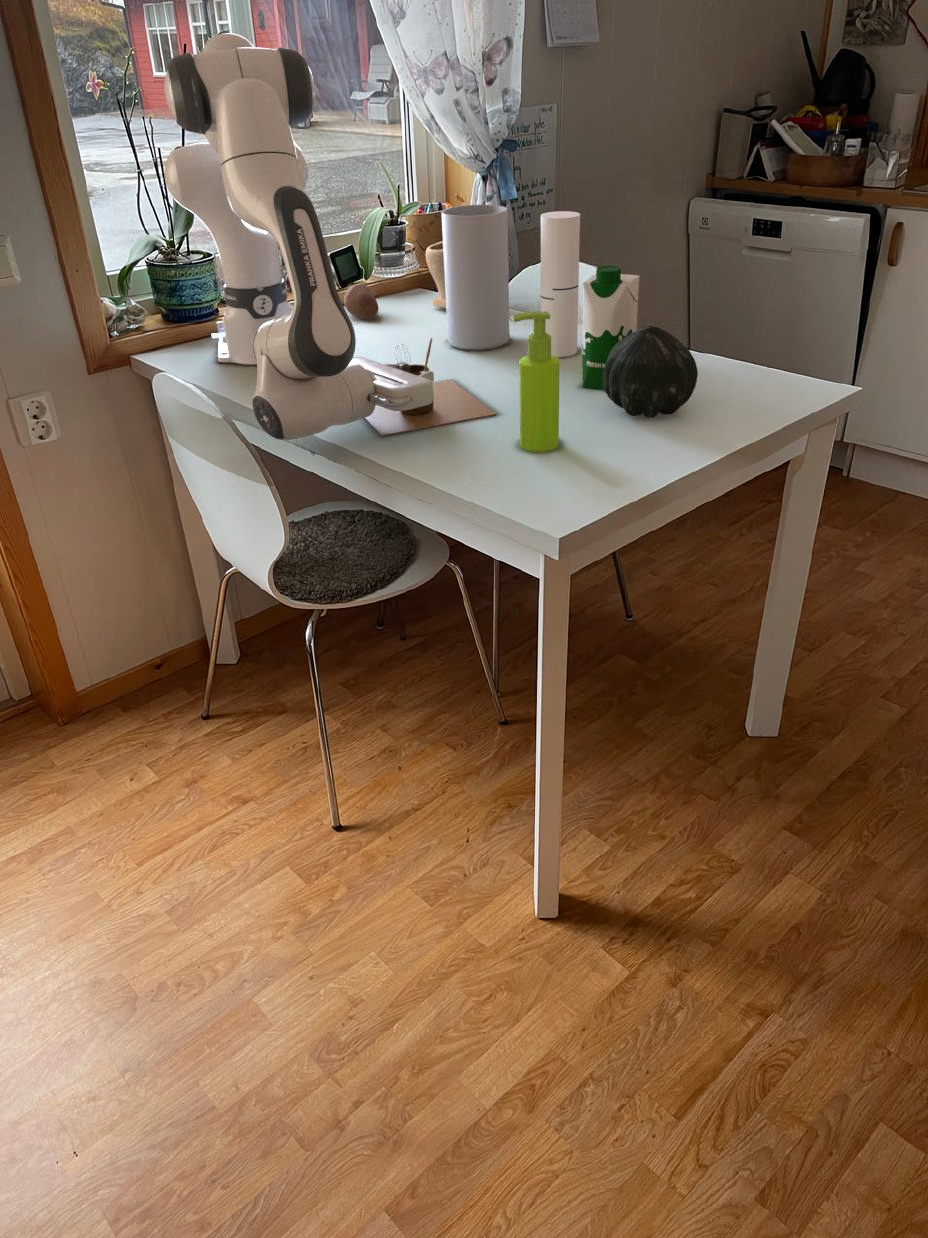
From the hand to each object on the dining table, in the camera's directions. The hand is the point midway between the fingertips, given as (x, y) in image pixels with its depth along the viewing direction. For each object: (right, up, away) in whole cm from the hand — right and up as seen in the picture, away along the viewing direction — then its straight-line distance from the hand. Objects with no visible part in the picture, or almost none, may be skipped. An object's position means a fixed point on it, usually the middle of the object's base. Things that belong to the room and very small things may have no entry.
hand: (418, 371), depth 159 cm
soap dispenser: (+19, -15, -12) cm, 26 cm away
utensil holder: (0, -6, +3) cm, 7 cm away
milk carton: (+33, +1, +11) cm, 35 cm away
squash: (+38, -7, -1) cm, 39 cm away
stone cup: (+7, +28, +58) cm, 64 cm away
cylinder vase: (+11, +15, +36) cm, 40 cm away
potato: (-15, +27, +57) cm, 65 cm away
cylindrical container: (+26, +11, +28) cm, 40 cm away
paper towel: (0, -5, +5) cm, 7 cm away
